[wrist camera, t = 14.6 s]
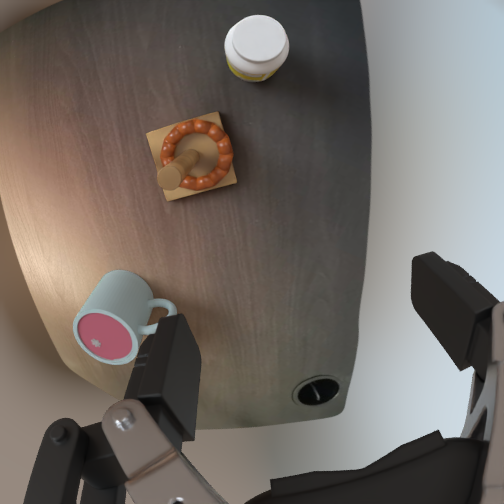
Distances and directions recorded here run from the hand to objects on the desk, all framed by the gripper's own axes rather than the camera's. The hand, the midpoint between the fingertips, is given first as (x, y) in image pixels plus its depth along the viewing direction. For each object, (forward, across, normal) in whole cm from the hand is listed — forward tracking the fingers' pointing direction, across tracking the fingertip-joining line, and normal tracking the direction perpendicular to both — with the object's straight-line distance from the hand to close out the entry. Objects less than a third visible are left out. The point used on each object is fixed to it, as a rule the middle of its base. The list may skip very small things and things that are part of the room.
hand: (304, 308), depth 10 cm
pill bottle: (+30, -3, -13) cm, 33 cm away
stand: (+30, +7, -3) cm, 31 cm away
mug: (+30, +21, +14) cm, 39 cm away
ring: (+28, +6, -3) cm, 29 cm away
